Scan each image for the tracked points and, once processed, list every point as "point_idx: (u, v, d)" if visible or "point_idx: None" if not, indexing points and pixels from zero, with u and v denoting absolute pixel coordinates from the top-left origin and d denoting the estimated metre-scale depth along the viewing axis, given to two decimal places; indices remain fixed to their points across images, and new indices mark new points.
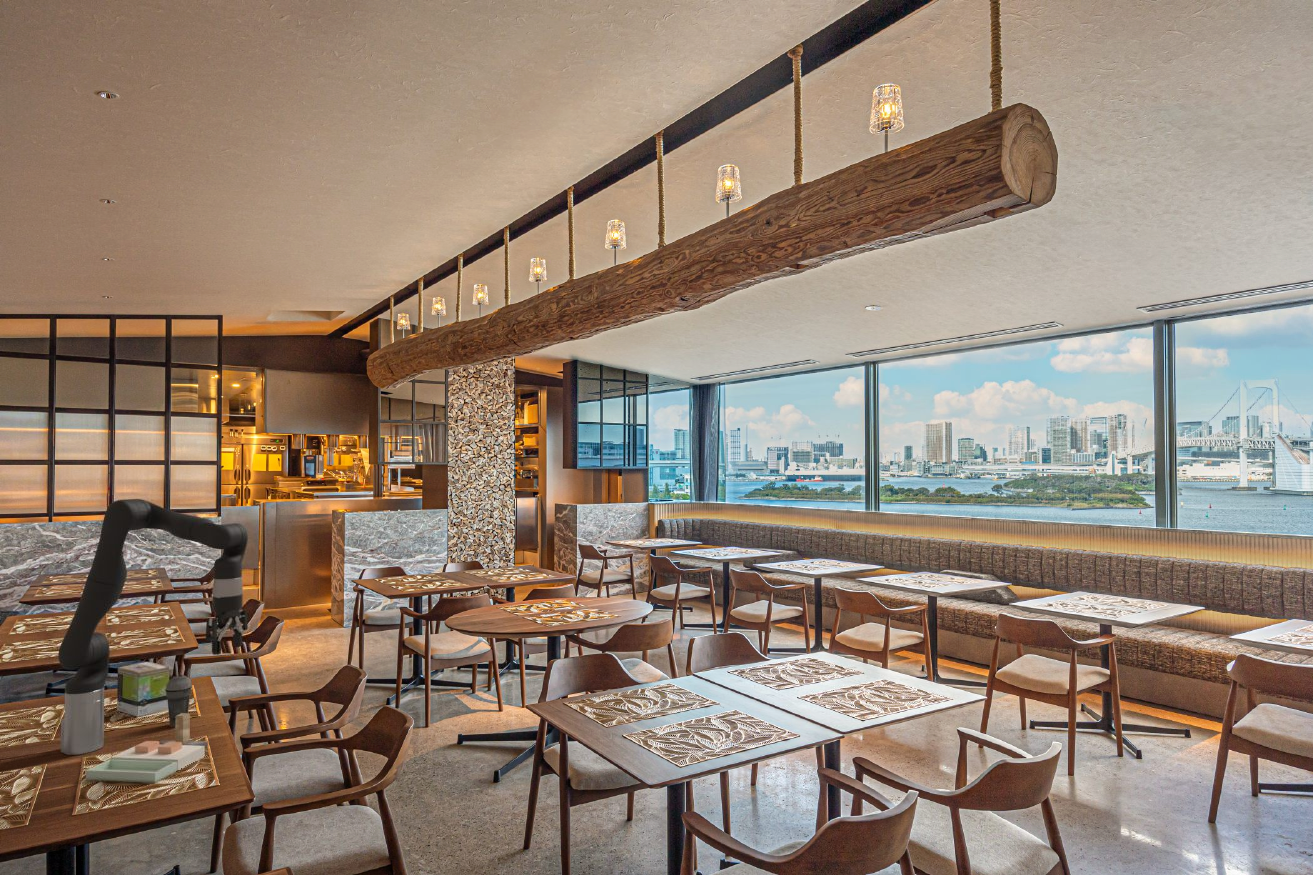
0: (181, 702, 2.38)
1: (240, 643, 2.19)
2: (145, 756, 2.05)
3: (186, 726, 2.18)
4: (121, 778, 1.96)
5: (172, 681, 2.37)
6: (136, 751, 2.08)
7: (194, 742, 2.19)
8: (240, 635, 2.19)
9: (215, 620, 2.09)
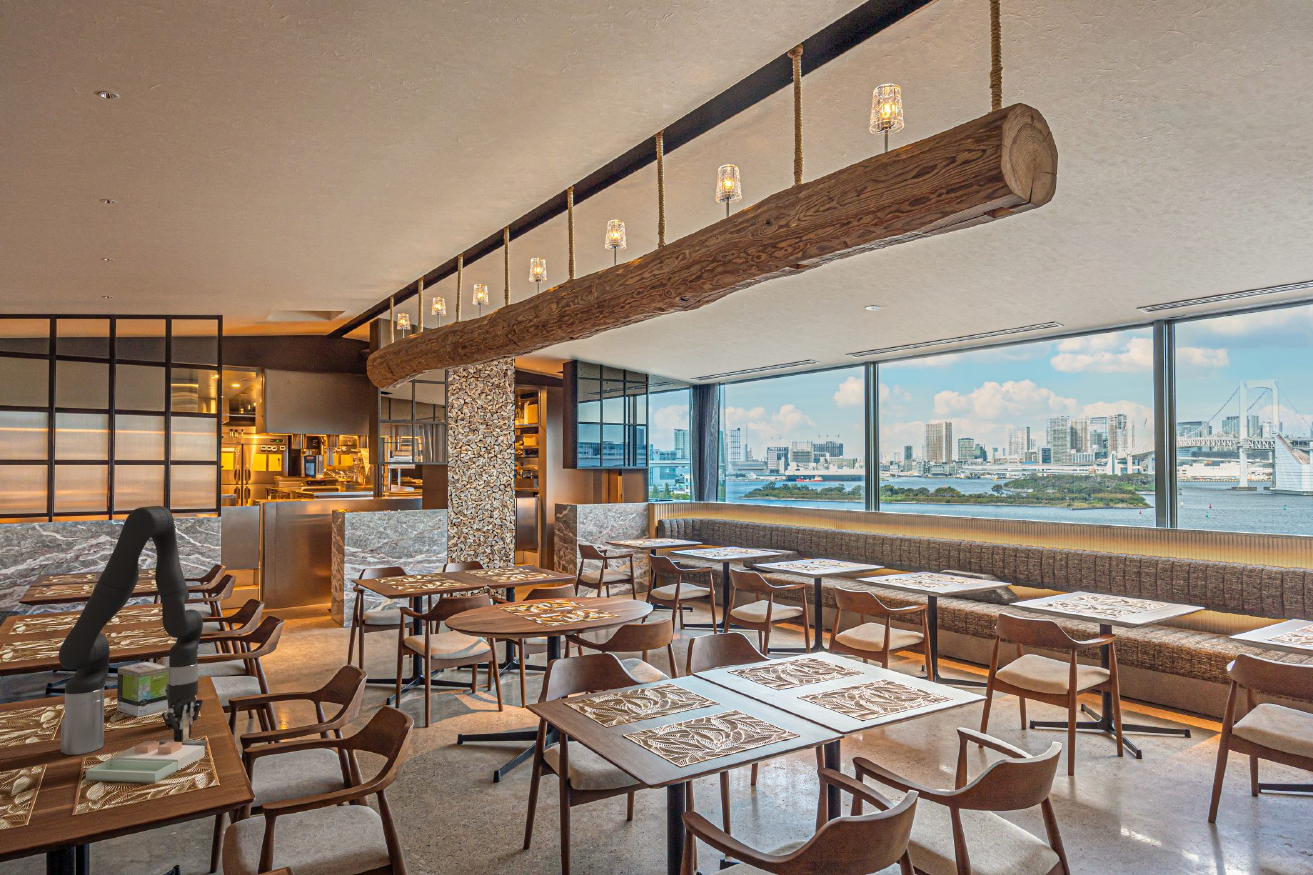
0: None
1: (189, 734, 2.20)
2: (145, 756, 2.05)
3: (186, 725, 2.19)
4: (121, 778, 1.96)
5: None
6: (136, 751, 2.08)
7: (193, 740, 2.19)
8: (189, 726, 2.20)
9: (170, 715, 2.13)
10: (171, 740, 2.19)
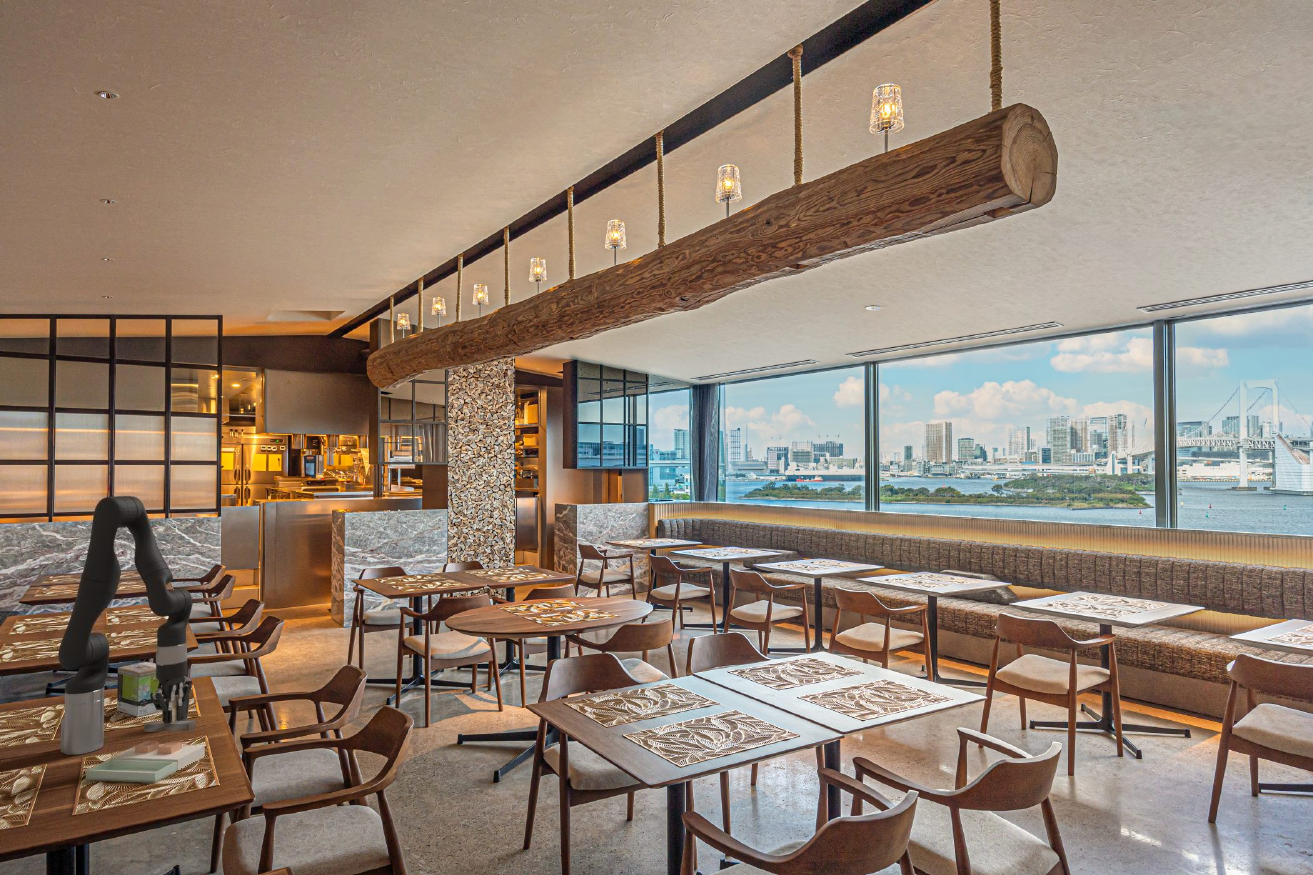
0: None
1: (178, 716, 2.16)
2: (145, 756, 2.05)
3: (173, 706, 2.14)
4: (121, 778, 1.96)
5: None
6: (136, 751, 2.08)
7: (182, 721, 2.14)
8: (178, 708, 2.16)
9: (158, 695, 2.08)
10: (159, 722, 2.15)
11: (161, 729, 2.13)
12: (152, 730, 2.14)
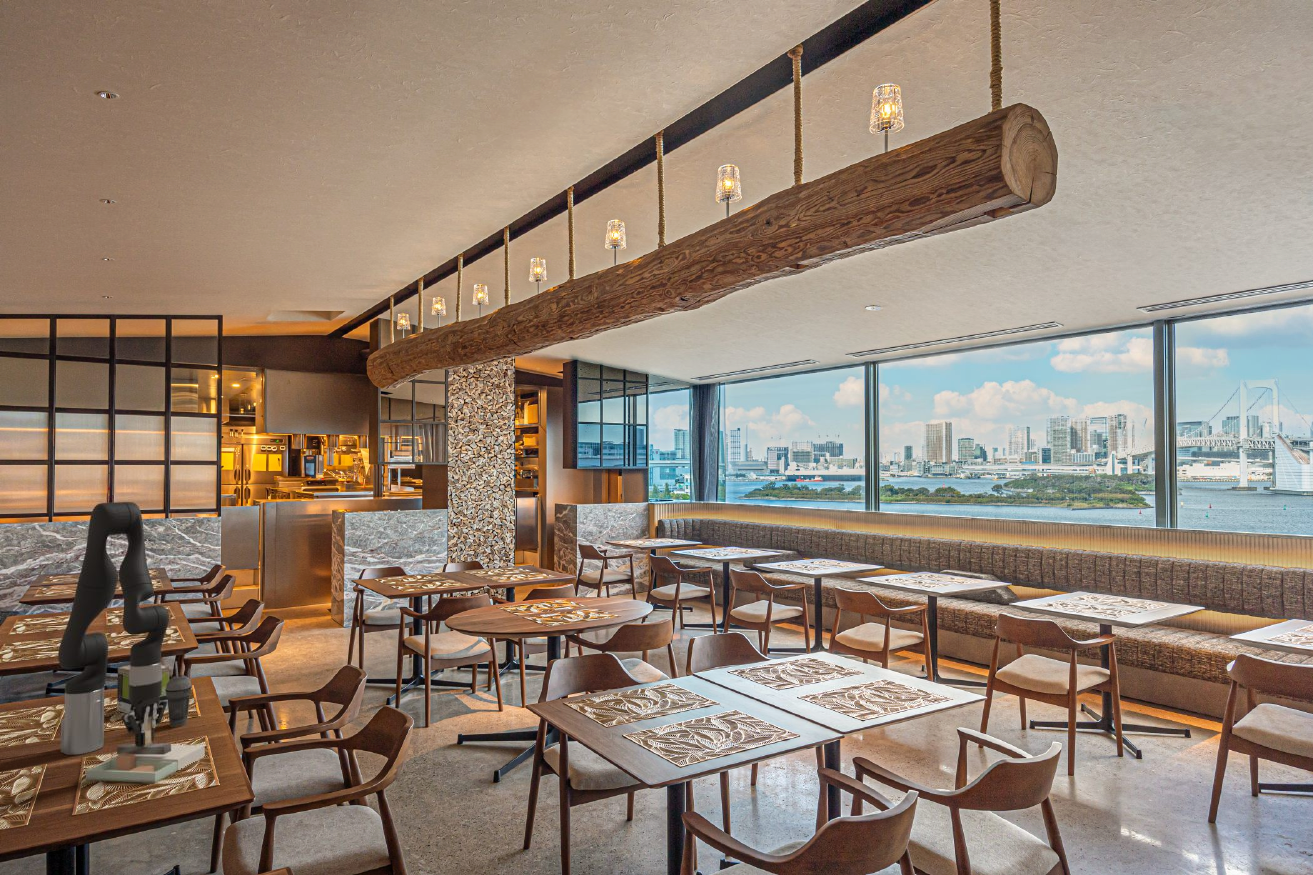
0: (181, 702, 2.38)
1: (152, 738, 2.06)
2: (145, 756, 2.05)
3: (147, 728, 2.05)
4: (121, 778, 1.96)
5: (172, 681, 2.37)
6: None
7: (156, 744, 2.05)
8: (152, 730, 2.06)
9: (131, 717, 1.99)
10: (132, 744, 2.06)
11: (135, 752, 2.04)
12: None
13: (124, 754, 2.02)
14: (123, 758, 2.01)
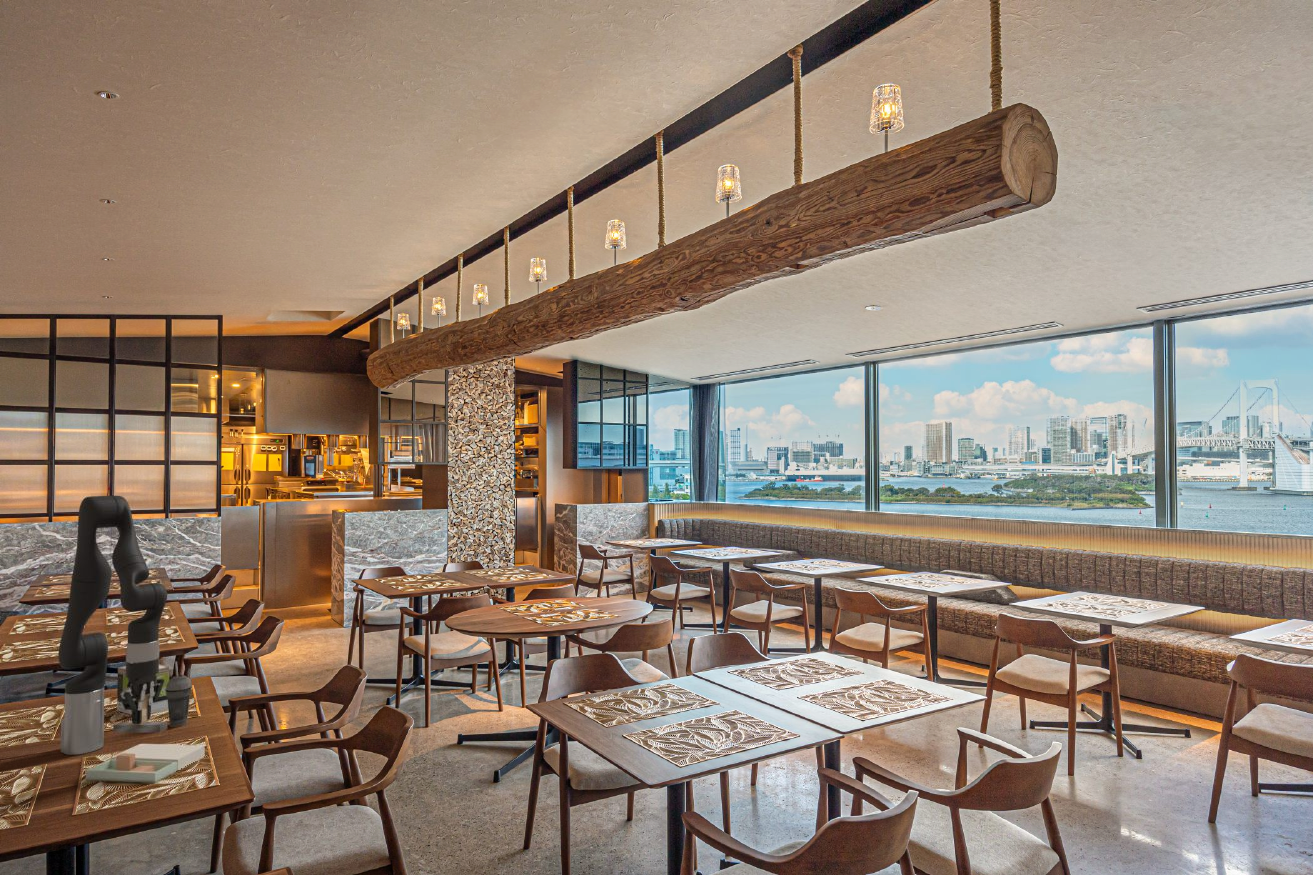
0: (181, 702, 2.38)
1: (148, 716, 2.05)
2: (145, 756, 2.05)
3: (143, 706, 2.04)
4: (121, 778, 1.96)
5: (172, 681, 2.37)
6: None
7: (153, 722, 2.04)
8: (149, 707, 2.05)
9: (127, 694, 1.98)
10: (129, 722, 2.05)
11: (131, 730, 2.03)
12: (121, 731, 2.03)
13: (124, 754, 2.02)
14: (123, 758, 2.01)
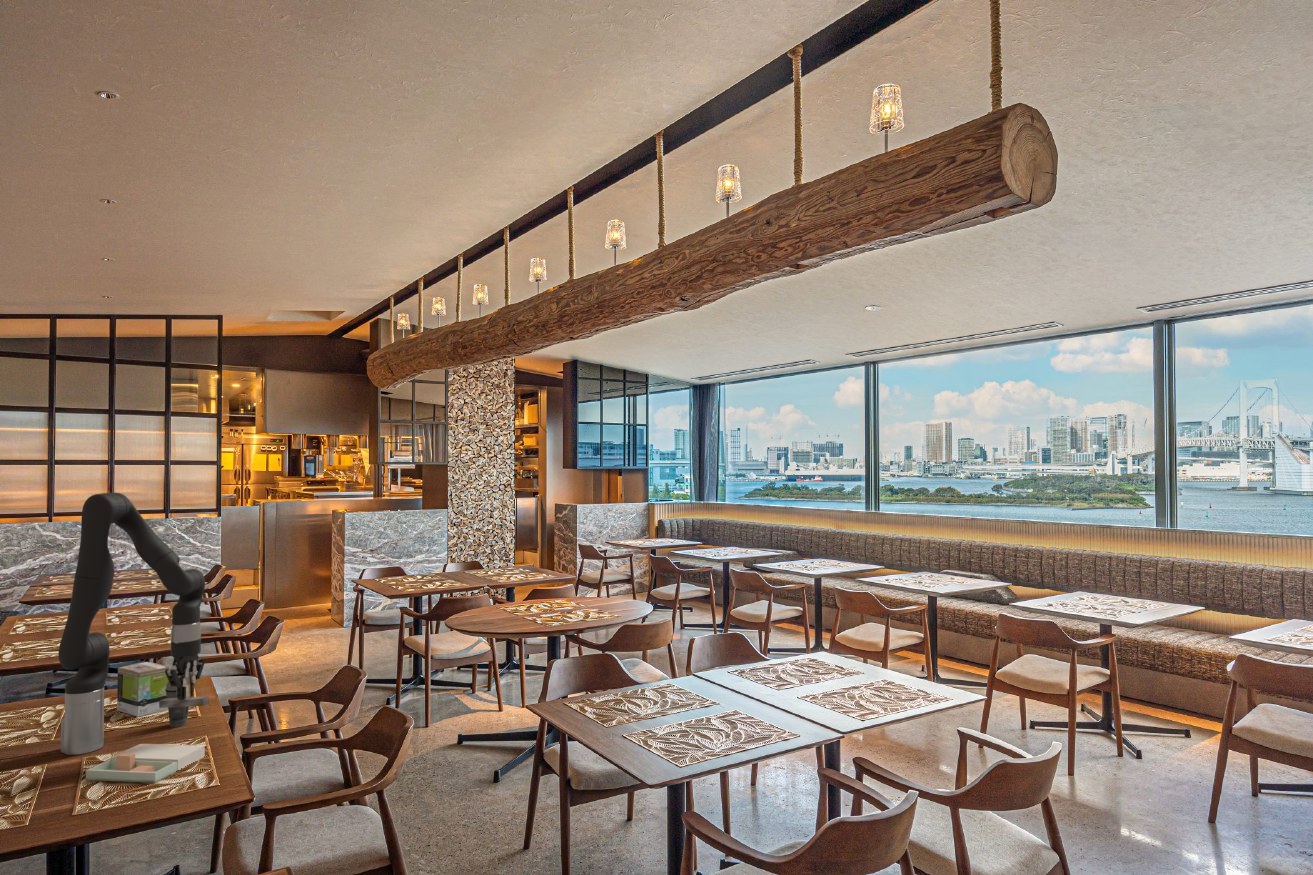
0: None
1: (192, 692, 2.21)
2: (145, 756, 2.05)
3: (187, 682, 2.20)
4: (121, 778, 1.96)
5: None
6: None
7: (195, 697, 2.20)
8: (192, 685, 2.21)
9: (173, 671, 2.14)
10: (173, 698, 2.21)
11: (176, 705, 2.19)
12: (167, 706, 2.19)
13: (124, 754, 2.02)
14: (123, 758, 2.01)
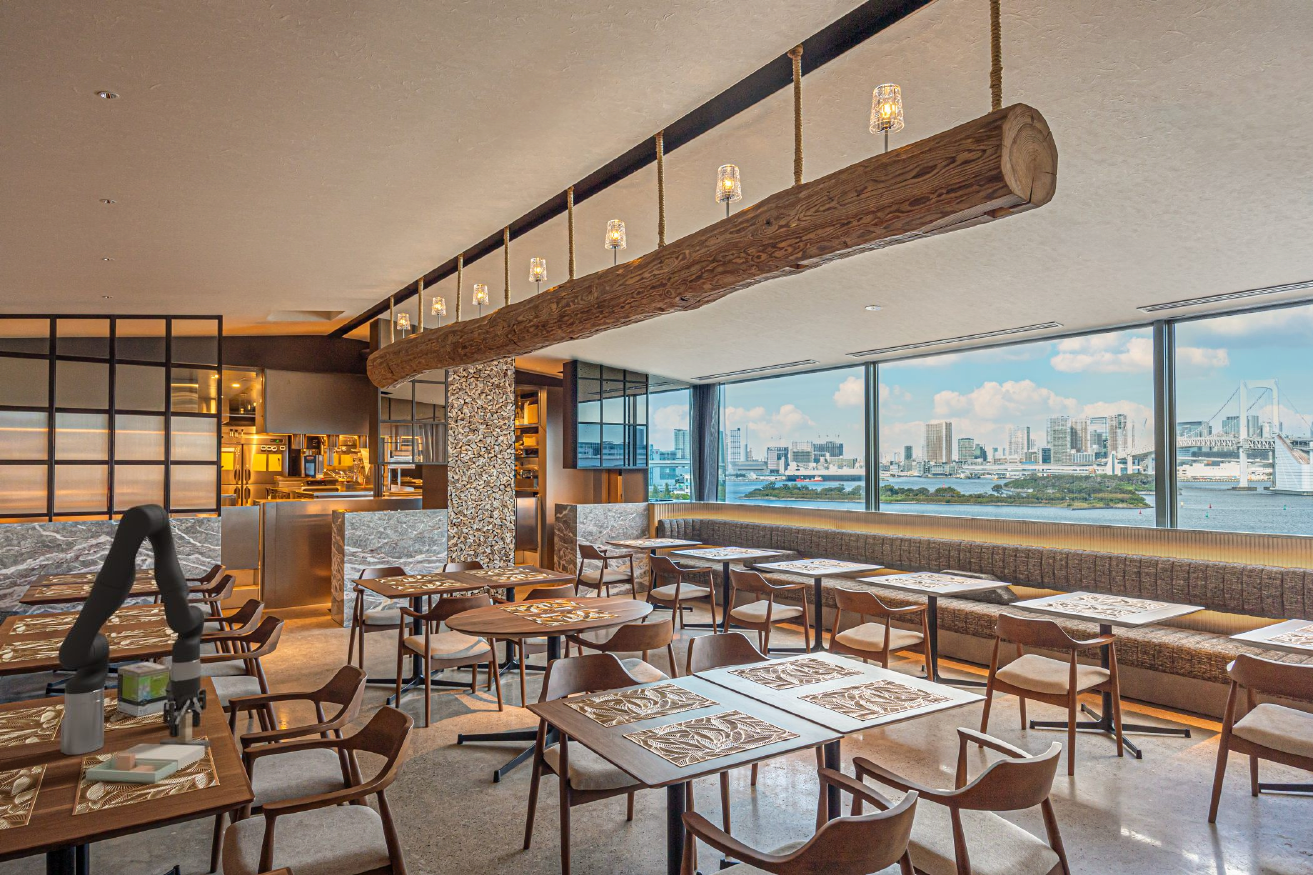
0: None
1: (198, 723, 2.24)
2: (145, 756, 2.05)
3: (189, 725, 2.19)
4: (121, 778, 1.96)
5: None
6: None
7: (196, 740, 2.20)
8: (198, 715, 2.24)
9: (172, 704, 2.13)
10: (174, 740, 2.20)
11: None
12: None
13: (124, 754, 2.02)
14: (123, 758, 2.01)
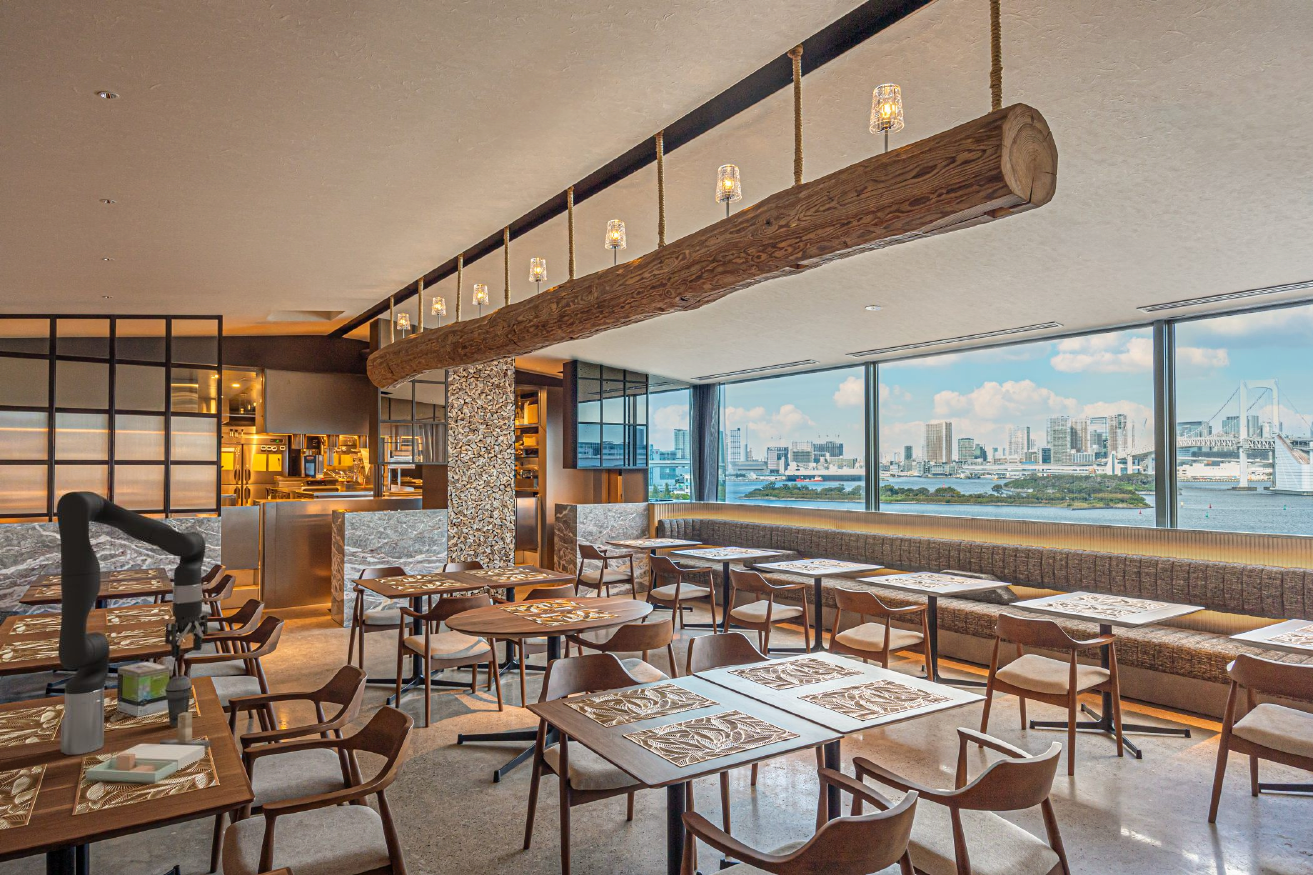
0: (181, 702, 2.38)
1: (200, 647, 2.29)
2: (145, 756, 2.05)
3: (188, 725, 2.19)
4: (121, 778, 1.96)
5: (172, 681, 2.37)
6: None
7: (196, 740, 2.20)
8: (200, 639, 2.29)
9: (174, 625, 2.19)
10: (174, 740, 2.20)
11: None
12: None
13: (124, 754, 2.02)
14: (123, 758, 2.01)
